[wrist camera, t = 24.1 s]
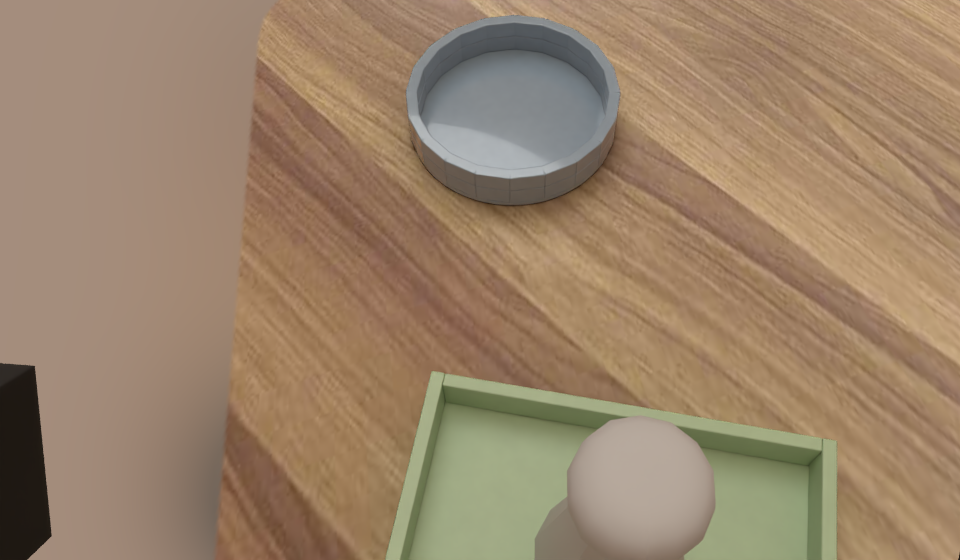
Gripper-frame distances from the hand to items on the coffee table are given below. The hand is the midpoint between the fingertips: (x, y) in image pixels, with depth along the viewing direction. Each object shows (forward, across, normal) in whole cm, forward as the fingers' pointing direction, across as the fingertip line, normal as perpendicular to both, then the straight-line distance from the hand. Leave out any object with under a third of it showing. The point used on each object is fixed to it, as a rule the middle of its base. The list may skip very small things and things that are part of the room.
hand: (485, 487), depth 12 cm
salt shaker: (+21, +4, -15) cm, 26 cm away
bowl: (+38, -2, +2) cm, 38 cm away
